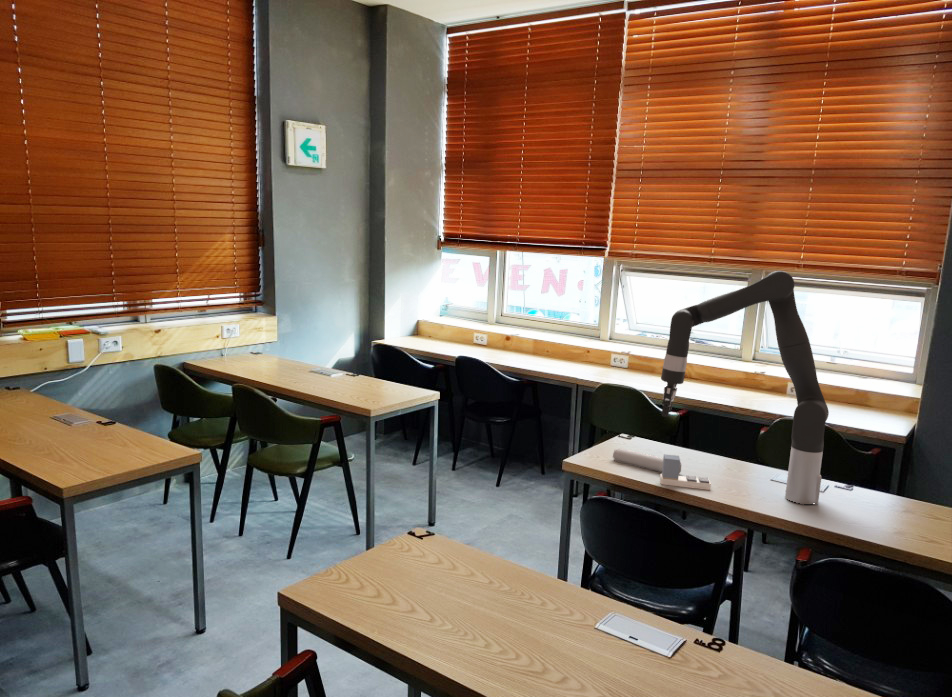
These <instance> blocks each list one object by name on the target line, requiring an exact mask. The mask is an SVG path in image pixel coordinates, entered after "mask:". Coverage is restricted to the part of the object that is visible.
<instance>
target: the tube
mask: <svg viewBox="0 0 952 697" xmlns="http://www.w3.org/2000/svg"><path fill="white" fill-rule="evenodd" d="M612 454H613V455H612V458H613V459H614V461H615V462H618V461H619V462H618V463H622V464H626V465H630V464H631V465H630V466H634V465H635V467H639V468H642V469H647V470H650V471H654V472H659V473H662V468H663V458H664V457H660V456H655V455H651V454H647V453H643V452H642V453H641V452H638V451H635V450H634V451H633V450H628V449H626V448H621V447H620V448H617V449H614V450H613V453H612ZM681 472H682V463H681V461H680V467H679V475H680V474H681Z"/></svg>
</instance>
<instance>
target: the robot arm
mask: <svg viewBox="0 0 952 697" xmlns="http://www.w3.org/2000/svg"><path fill="white" fill-rule="evenodd" d="M794 289H795V280H794V278H793V276H792V275H791V274H790V273H788V272H787V271H783V270H775V271H772V272H770V273H768V274H767V275H766V276H765V277H762V278H761V279H760V280H758V281H756V282H754V283H751V284H749V285H747V286H745V287H742V288H739V289H737V290H734V291H730V292H727V293H723V294H721V295H717V296H715V297H711V298H710V299H707V300H704V301H702V302H700V303H698V304H695V305H691V306H688V307H685V308H682V309H679V310H677V311H676V312H675V313H674V314H673V315H672V317H671V319H670V328H669V337H668V340H667V341H668V342H667V346H666V352H665V356H664V359H663V365H662V370H661V375H660V376H661V377H660V379H661V381H663V382H665V383H667V384H666V385H665V386H664V388H663V396H662V399H663V400H662V404H661V405H662V409H661V417H664V418H668V417H669V413H671V412H672V408H673V402H674V401H675V398H676V395H677V391H678V387H677V385H682V384H684V381H685V375H686V370H687V365H688V363H687V362H688V354H689V349H690V338H691V334H692V328H693V327H696V326H699V325H701V324H704V323H709V322H713V321H716V320H719V319H721V318H725V317H726V316H729V315H733V314H734V313H737V312H739V311H741V310H743V309H746V308H748V307H751V306H753V305H757V304H760V303H761V304H762V303H765V302H768V304H769V307H770V310H771V311H772V312H771V313H772V316H773V321H774V329H775V336H776V341H777V346H778V350H779V354H780V358H781V361H782V365H783V367H784V368H785V371H786V372H787V375H788V376H789V378H790V380H791V382H792V385H793V387H794V392H795V397H796V403H797V406H796V407H795V410H794V412H793V419H792V428H791V445H790V448H791V449H790V456H789V463H788V470H787V471H788V472H787V478H786V488H785V495H784V498H785V499H786V500H787V499H788V501H789V500H790V501H789V502H791V501H793V502H792V503H794V502H796V503H795V504H798V503H800V505H804V504H813V503H815V504H813V505H817V504H818V505H819V499H820V492H821V484H822V478H823V477H822V475H821V468H822V460H823V454H824V453H823V452H824V446H825V445H824V443H825V442H824V439H825V438H824V436H825V429H826V423H827V422H826V421H827V420H828V417H829V413H830V412H829V408H828V407H829V406H828V405H827V402H826V401H825V398H824V395H823V392H822V389H821V387H820V383H819V381H818V375H817V368H816V364H815V359H814V355H813V350H812V346H811V343H810V338H809V336H808V333H807V331H806V328H805V326H804V323H803V320H802V319H801V317H800V315H799V312H798V308H797V307H798V306H797V302H796V297H795V290H794Z"/></svg>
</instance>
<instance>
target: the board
mask: <svg viewBox="0 0 952 697" xmlns="http://www.w3.org/2000/svg"><path fill="white" fill-rule="evenodd" d="M696 479H697V482H692V481H687V478H686V476H682V475H679V477H678V480H670V479H663V477H662V473H660V474H659V482H660V485H662V486H663V485H666V486H674V487H681V488H693V489H698V490H699V489H700V490H709V491H710V490H711V488H712V487H711V485H712V483H711V481H710V479H709V483H701V482H700V481H699V477H696Z"/></svg>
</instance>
